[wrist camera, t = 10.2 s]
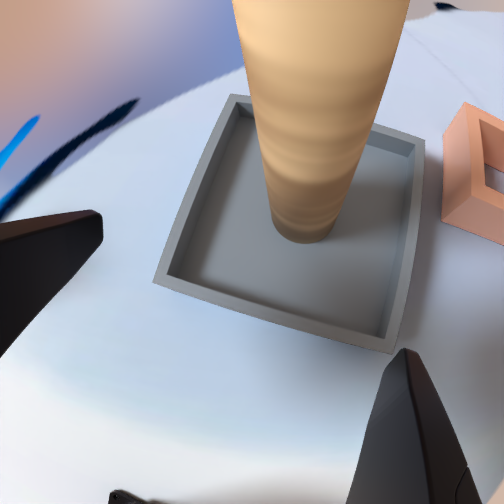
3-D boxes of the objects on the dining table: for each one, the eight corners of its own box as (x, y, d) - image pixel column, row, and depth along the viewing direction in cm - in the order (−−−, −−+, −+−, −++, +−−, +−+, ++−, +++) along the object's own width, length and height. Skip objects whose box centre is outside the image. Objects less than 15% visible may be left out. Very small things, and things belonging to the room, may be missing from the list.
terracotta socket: (516, 251, 15) (551, 234, 11) (440, 220, 16) (471, 195, 12) (513, 167, 16) (539, 143, 13) (443, 134, 18) (464, 101, 14)
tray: (376, 350, 15) (392, 354, 12) (171, 289, 17) (152, 282, 15) (410, 162, 17) (425, 140, 15) (237, 119, 20) (230, 93, 17)
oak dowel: (339, 241, 16) (457, -22, 2) (273, 246, 16) (210, -40, 2) (331, 181, 16) (378, -77, 3) (269, 185, 17) (221, -80, 3)
